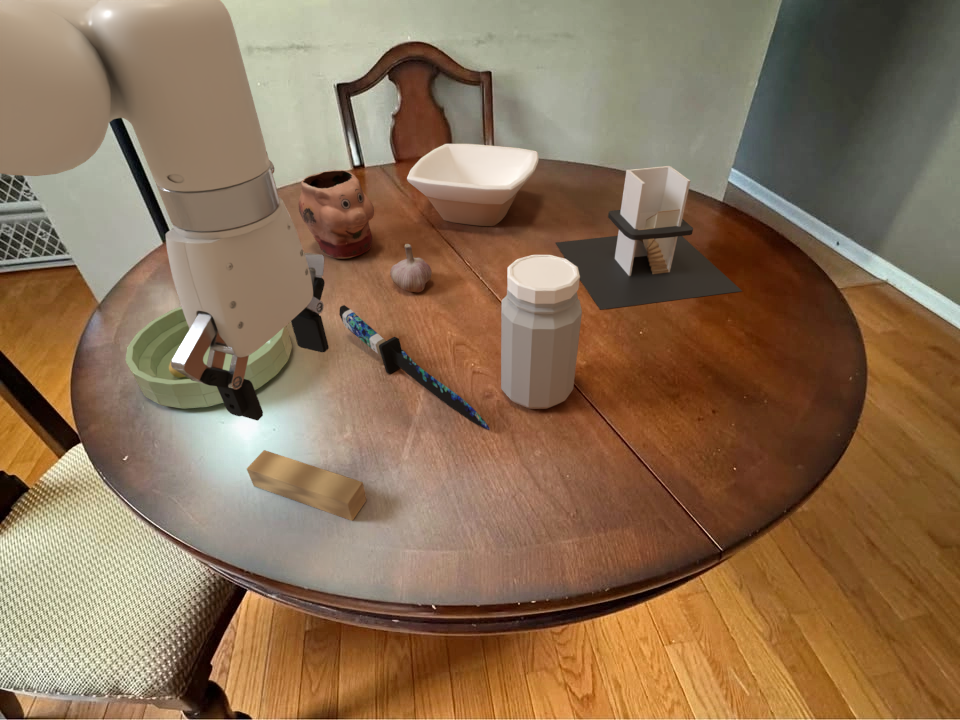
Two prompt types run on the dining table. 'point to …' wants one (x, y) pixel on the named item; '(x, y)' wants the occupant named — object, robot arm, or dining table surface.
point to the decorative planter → (337, 213)
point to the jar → (540, 331)
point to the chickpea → (175, 372)
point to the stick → (308, 484)
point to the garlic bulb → (411, 272)
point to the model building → (646, 247)
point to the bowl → (473, 180)
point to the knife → (406, 364)
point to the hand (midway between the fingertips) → (282, 379)
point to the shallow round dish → (164, 339)
